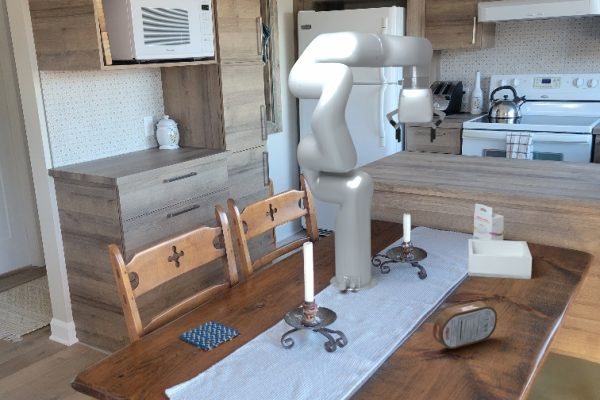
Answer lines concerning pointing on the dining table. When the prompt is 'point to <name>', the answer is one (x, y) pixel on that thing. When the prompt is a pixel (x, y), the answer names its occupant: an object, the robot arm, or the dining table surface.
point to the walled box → (499, 259)
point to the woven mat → (210, 335)
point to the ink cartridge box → (487, 224)
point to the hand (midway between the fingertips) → (415, 141)
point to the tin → (465, 324)
